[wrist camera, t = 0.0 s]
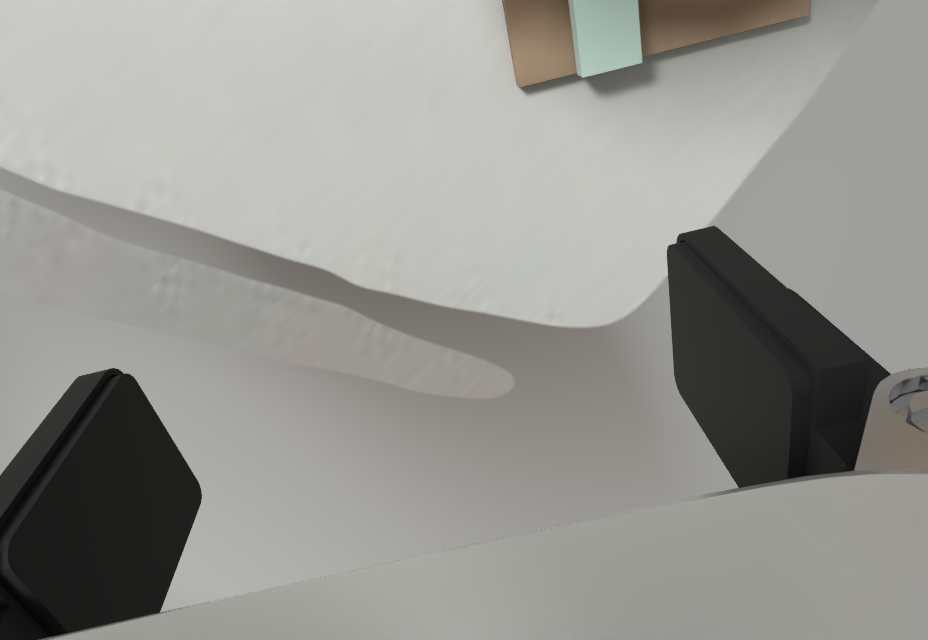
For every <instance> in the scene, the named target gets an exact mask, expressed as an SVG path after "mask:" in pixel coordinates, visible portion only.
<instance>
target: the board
mask: <svg viewBox="0 0 928 640" xmlns="http://www.w3.org/2000/svg"><path fill="white" fill-rule="evenodd" d="M502 2H503V8H504V13H505V19H506V25H507V31H508V37H509V43H510V49H511V54H512V60H513V66H514V72H515V78H516V84H517V86H518V87H519V88H520V87H524V86H528V85H532V84H536V83H540V82H544V81H548V80H552V79H556V78H560V77H564V76H568V75H572V74H576V73H577V69H576V60H575V52H574V44H573V36H572V28H571V20H570V11H569V3H568V0H502ZM638 8H639V22H640V37H641V51H642V57H644V56H648V55H652V54H656V53H660V52H664V51H668V50H672V49H676V48H680V47H684V46H688V45H692V44H696V43H700V42H704V41H708V40H712V39H716V38H720V37H724V36H728V35H732V34H736V33H740V32H744V31H748V30H752V29H756V28H760V27H764V26H768V25H772V24H776V23H780V22H784V21H788V20H792V19H796V18H800V17H804V16H808V15H809V12H810V0H638Z"/></svg>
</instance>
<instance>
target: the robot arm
mask: <svg viewBox="0 0 928 640" xmlns="http://www.w3.org/2000/svg"><path fill="white" fill-rule="evenodd" d="M667 263H668V279H669V296H670V312H671V328H672V344H673V361H674V375H675V381H676V385H677V388H678V390H679V393H680V395H681V396H682V398H683V400H684V401H685V403H686V404H687V406H688V407H689V409H690V410H691V412H692V414H693V415H694V417H695V419H696V420H697V422H698V423H699V425H700V427H701V428H702V430H703V431H704V433H705V434H706V436H707V437H708V439H709V441H710V443H711V444H712V446H713V447H714V449H715V450H716V452H717V454H718V455H719V457H720V458H721V460H722V462H723V463H724V465H725V466H726V468H727V470H728V471H729V473H730V474H731V476H732V478H733V479H734V481H735V482H736V484H737V485H738V487H739V488H737V489H731V490H726V491H721V492H715V493H709V494H704V495H699V496H694V497H690V498H685V499H681V500H676V501H671V502H666V503H662V504H657V505H653V506H648V507H643V508H639V509H634V510H629V511H625V512H619V513H615V514H611V515H606V516H601V517H596V518H592V519H587V520H582V521H577V522H573V523H568V524H563V525H559V526H554V527H549V528H544V529H540V530H536V531H530V532H526V533H522V534H516V535H512V536H507V537H503V538H498V539H494V540H489V541H484V542H480V543H475V544H471V545H466V546H461V547H457V548H453V549H448V550H443V551H439V552H434V553H429V554H425V555H420V556H416V557H411V558H406V559H402V560H397V561H393V562H388V563H384V564H379V565H374V566H371V567H365V568H361V569H357V570H352V571H347V572H343V573H338V574H333V575H329V576H324V577H320V578H315V579H311V580H306V581H301V582H297V583H293V584H288V585H283V586H279V587H274V588H270V589H265V590H260V591H256V592H251V593H247V594H242V595H238V596H233V597H228V598H224V599H219V600H215V601H210V602H206V603H202V604H197V605H192V606H187V607H183V608H179V609H174V610H169V611H165V612H161V613H160V610H161V608H162V605H163V603H164V600H165V597H166V595H167V592H168V589H169V587H170V584H171V581H172V579H173V576H174V573H175V571H176V568H177V565H178V562H179V560H180V557H181V555H182V552H183V549H184V547H185V544H186V541H187V539H188V536H189V533H190V531H191V528H192V525H193V523H194V520H195V517H196V515H197V512H198V509H199V507H200V504H201V498H202V494H201V488H200V485H199V483H198V481H197V479H196V477H195V476H194V474H193V472H192V471H191V469H190V467H189V466H188V464H187V463H186V461H185V459H184V458H183V456H182V455H181V453H180V451H179V450H178V448H177V446H176V445H175V443H174V441H173V440H172V438H171V436H170V435H169V433H168V432H167V430H166V428H165V427H164V425H163V423H162V422H161V420H160V418H159V417H158V415H157V414H156V412H155V410H154V409H153V407H152V405H151V404H150V402H149V401H148V399H147V397H146V396H145V394H144V392H143V391H142V389H141V388H140V386H139V384H138V383H137V381H136V380H135V378H134V377H133V376H131V375H130V374H124V373H123V372H121V371H120V370H119V369H115V368H112V369H108V370H104V371H99V372H95V373H91V374H87V375H82V376H79V377H78V378H77V379H76V380H75V381H74V382H73V383H72V384H71V386H70V387H69V389H68V390H67V391H66V392H65V393H64V395H63V396H62V397H61V399H60V400H59V401H58V402H57V404H56V405H55V406H54V407H53V409H52V410H51V412H50V413H49V414H48V415H47V416H46V418H45V419H44V420H43V422H42V423H41V424H40V426H39V427H38V428H37V429H36V431H35V432H34V433H33V434H32V436H31V437H30V438H29V439H28V441H27V442H26V443H25V445H24V446H23V447H22V448H21V450H20V451H19V452H18V454H17V455H16V456H15V457H14V459H13V460H12V461H11V462H10V464H9V465H8V466H7V468H6V469H5V470H4V471H3V473H2V474H1V475H0V640H928V368H916V369H908V370H904V371H901V372H897V373H894V374H890V373H889V372H888V371H886V369H884V368H883V367H882V366H881V365H880V364H879V363H877V362H876V361H875V360H874V359H873V358H871V357H870V356H869V355H868V354H867V353H865V351H863V350H862V349H861V348H860V347H859V346H858V345H856V344H855V343H854V342H853V341H852V340H850V339H849V338H848V337H847V336H846V335H845V334H844V333H842V332H841V331H840V330H839V329H838V328H837V327H835V326H834V325H833V324H832V323H831V322H830V321H828V320H827V319H826V318H825V317H824V316H823V315H821V314H820V313H819V312H818V311H817V310H816V309H814V308H813V307H812V306H811V305H810V304H809V303H808V302H806V301H805V300H804V299H803V298H802V297H800V296H799V295H798V294H797V293H795V292H794V291H792V290H791V289H788V288H786V287H785V286H784V285H783V284H782V283H781V282H779V281H778V280H777V279H776V278H775V277H774V276H773V275H771V274H770V273H769V272H768V271H767V270H766V269H764V268H763V267H762V266H761V265H760V264H759V263H758V262H757V261H755V260H754V259H753V258H752V257H751V256H750V255H748V254H747V253H746V252H745V251H744V250H743V249H742V248H740V247H739V246H738V245H737V244H736V243H735V242H733V241H732V240H731V239H730V238H729V237H728V236H727V235H725V234H724V233H723V232H722V231H721V230H720V229H718V228H717V227H715V226H712V227H707V228H703V229H699V230H695V231H690V232H686V233H682V234H679V236H678V237H677V244H672V245H669V246H668V249H667Z"/></svg>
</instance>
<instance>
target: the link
mask: <svg viewBox="0 0 928 640" xmlns="http://www.w3.org/2000/svg"><path fill="white" fill-rule="evenodd" d="M568 3H569V11H570V20H571V28H572V36H573V44H574V52H575V60H576V69H577V74H578V75H579V76H581V77H582V78H584V77H588V76H592V75H596V74H600V73H604V72H608V71H612V70H616V69H620V68H624V67H628V66H632V65H636V64H640V63H642V51H641V37H640V22H639V8H638V0H568Z"/></svg>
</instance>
